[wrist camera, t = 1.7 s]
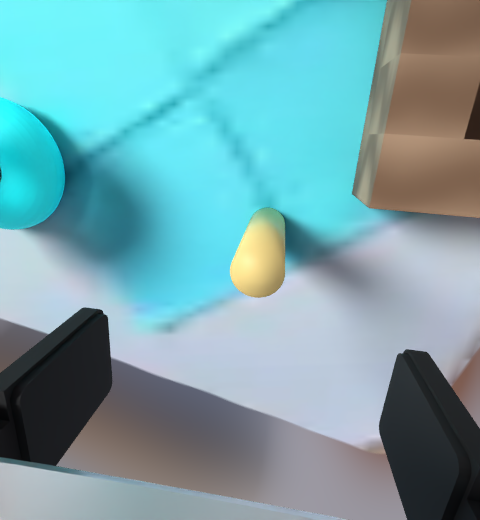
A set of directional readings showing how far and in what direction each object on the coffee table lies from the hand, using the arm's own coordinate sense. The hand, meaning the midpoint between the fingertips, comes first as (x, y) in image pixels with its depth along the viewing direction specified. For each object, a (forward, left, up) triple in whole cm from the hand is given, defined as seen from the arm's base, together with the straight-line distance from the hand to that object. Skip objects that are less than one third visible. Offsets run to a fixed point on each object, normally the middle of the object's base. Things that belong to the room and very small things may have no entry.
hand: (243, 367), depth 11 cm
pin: (0, 0, -17) cm, 17 cm away
